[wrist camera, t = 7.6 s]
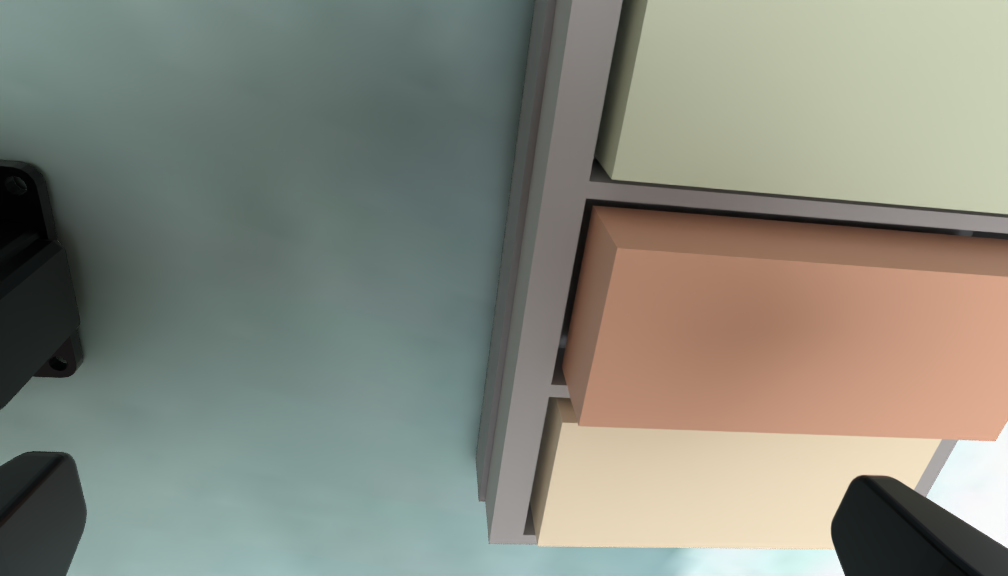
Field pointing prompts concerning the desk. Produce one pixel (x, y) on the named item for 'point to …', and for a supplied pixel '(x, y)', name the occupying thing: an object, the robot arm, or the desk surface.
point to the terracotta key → (787, 328)
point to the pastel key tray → (562, 236)
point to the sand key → (701, 484)
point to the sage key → (813, 99)
